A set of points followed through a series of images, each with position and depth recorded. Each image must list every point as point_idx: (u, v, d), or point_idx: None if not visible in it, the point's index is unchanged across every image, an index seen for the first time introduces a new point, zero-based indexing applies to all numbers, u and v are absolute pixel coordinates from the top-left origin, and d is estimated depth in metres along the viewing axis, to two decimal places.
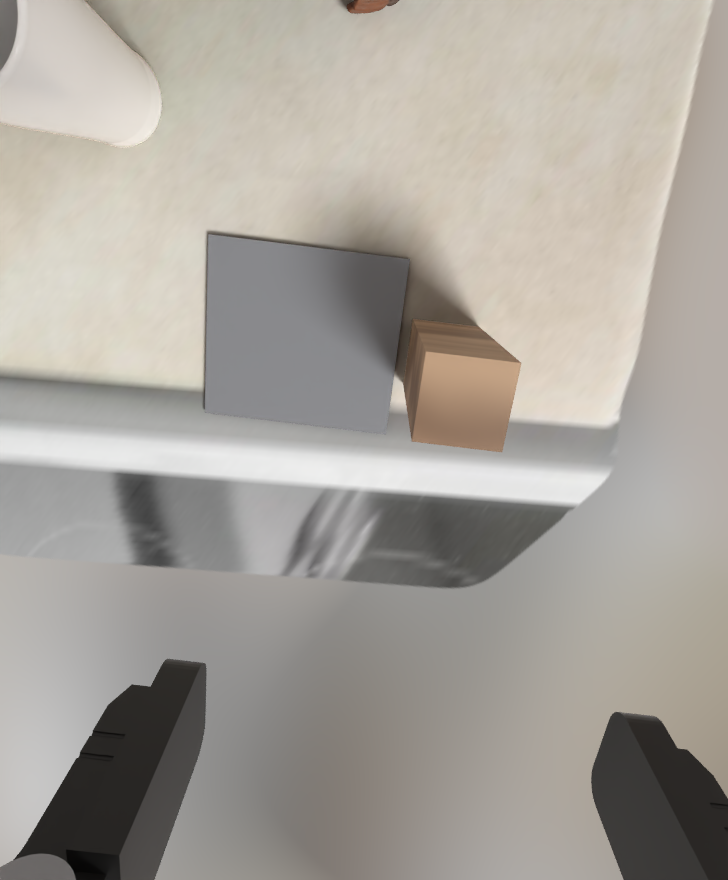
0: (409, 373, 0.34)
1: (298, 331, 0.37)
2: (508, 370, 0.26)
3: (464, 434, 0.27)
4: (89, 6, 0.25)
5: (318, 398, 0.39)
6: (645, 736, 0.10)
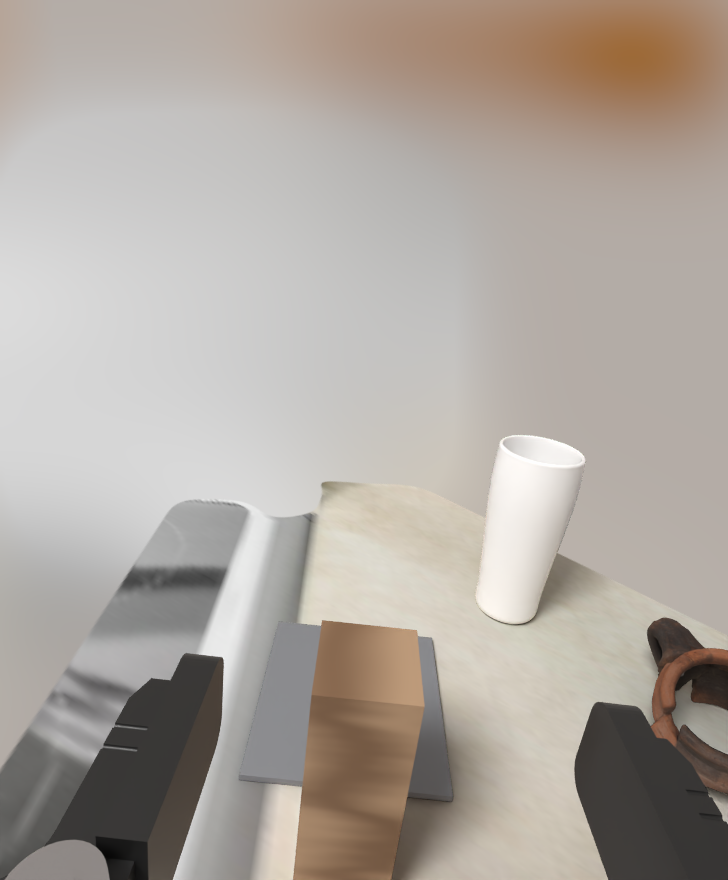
0: None
1: None
2: (413, 695, 0.22)
3: (332, 660, 0.24)
4: (558, 540, 0.43)
5: (289, 706, 0.35)
6: (625, 725, 0.10)
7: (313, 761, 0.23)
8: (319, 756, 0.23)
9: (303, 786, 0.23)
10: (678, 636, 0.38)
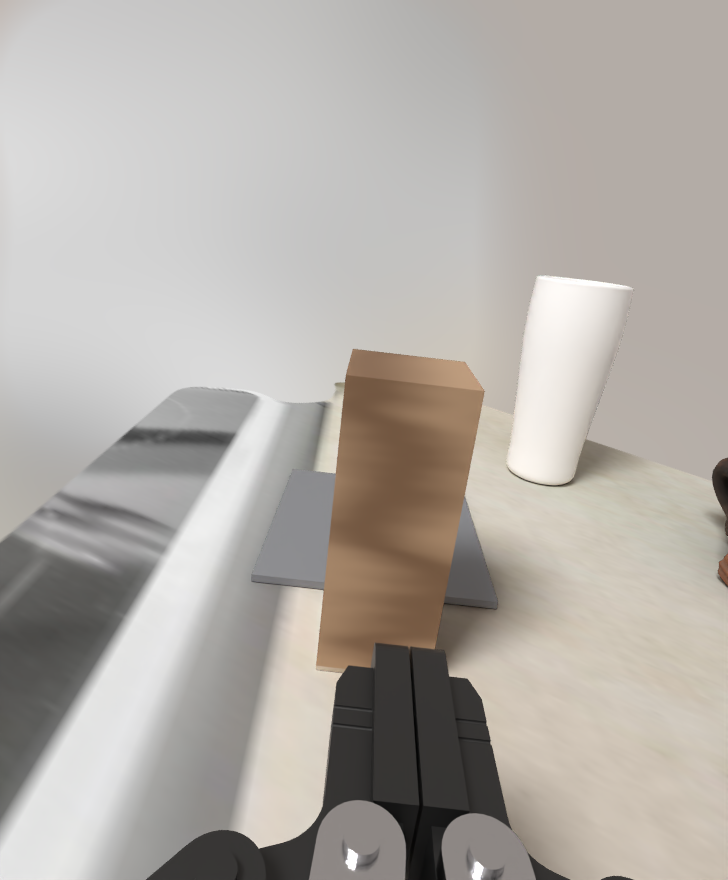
0: None
1: None
2: (469, 385, 0.18)
3: (368, 364, 0.20)
4: (602, 382, 0.39)
5: (306, 527, 0.31)
6: (423, 664, 0.11)
7: (346, 476, 0.19)
8: (354, 469, 0.19)
9: (333, 514, 0.19)
10: None
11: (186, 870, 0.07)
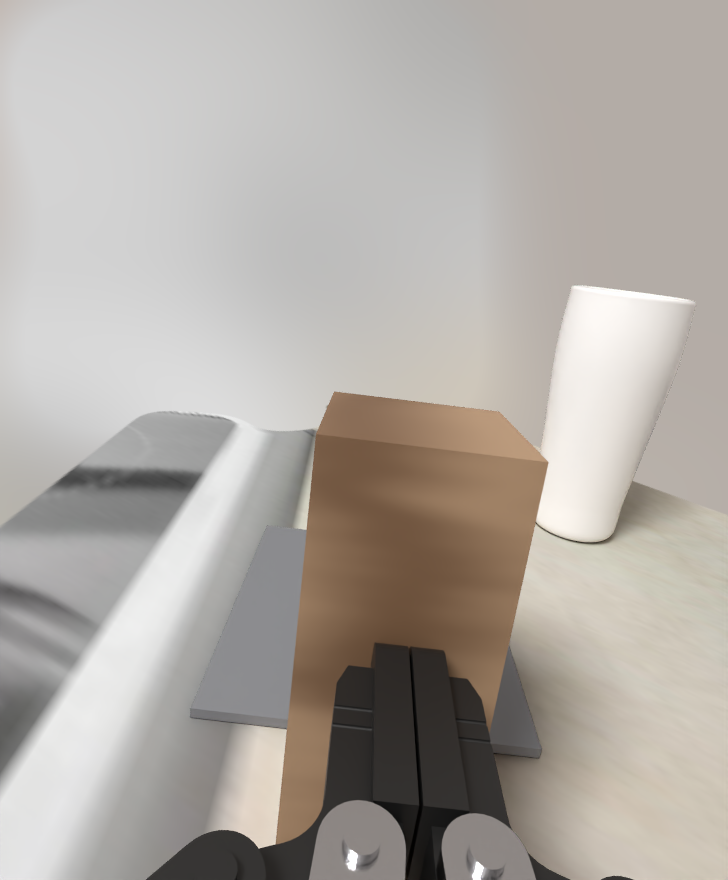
0: None
1: None
2: (520, 451, 0.11)
3: (355, 415, 0.12)
4: (654, 419, 0.31)
5: (277, 620, 0.23)
6: (423, 664, 0.11)
7: (317, 599, 0.12)
8: (330, 587, 0.11)
9: (296, 658, 0.12)
10: None
11: (186, 870, 0.07)
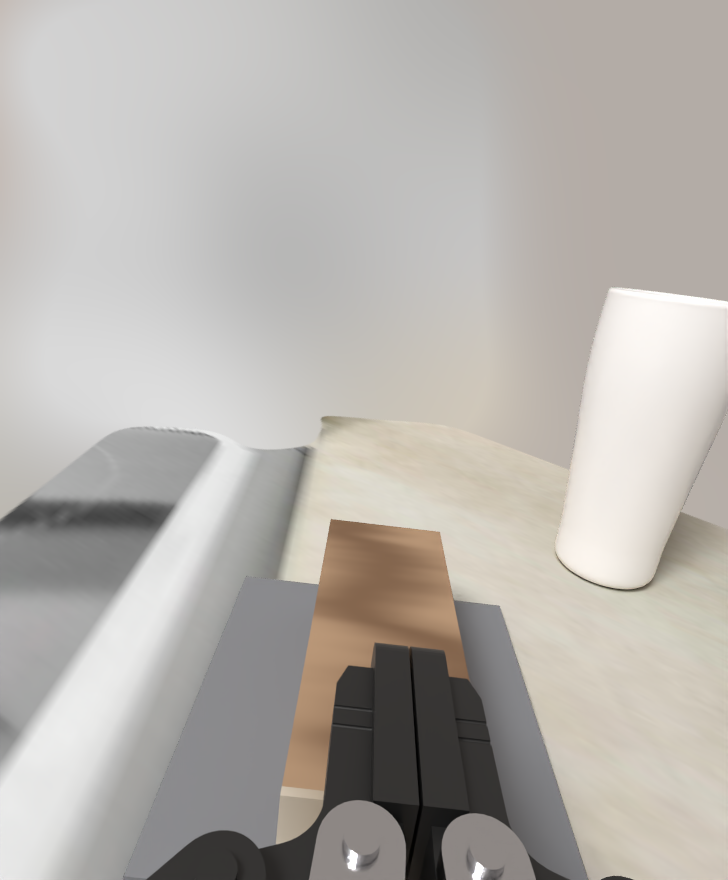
0: None
1: None
2: None
3: None
4: (708, 447, 0.26)
5: (250, 719, 0.18)
6: (423, 664, 0.11)
7: (332, 568, 0.19)
8: (340, 564, 0.20)
9: (318, 593, 0.18)
10: None
11: (186, 870, 0.07)
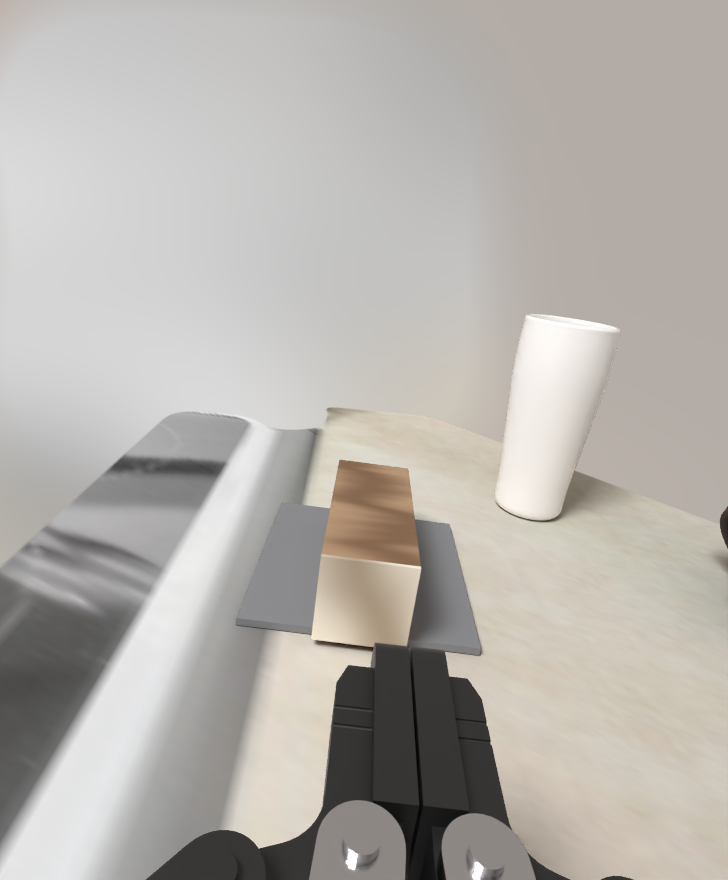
0: None
1: None
2: None
3: None
4: (588, 421, 0.40)
5: (293, 567, 0.31)
6: (423, 664, 0.11)
7: (341, 482, 0.32)
8: (346, 480, 0.33)
9: (334, 491, 0.31)
10: None
11: (186, 870, 0.07)
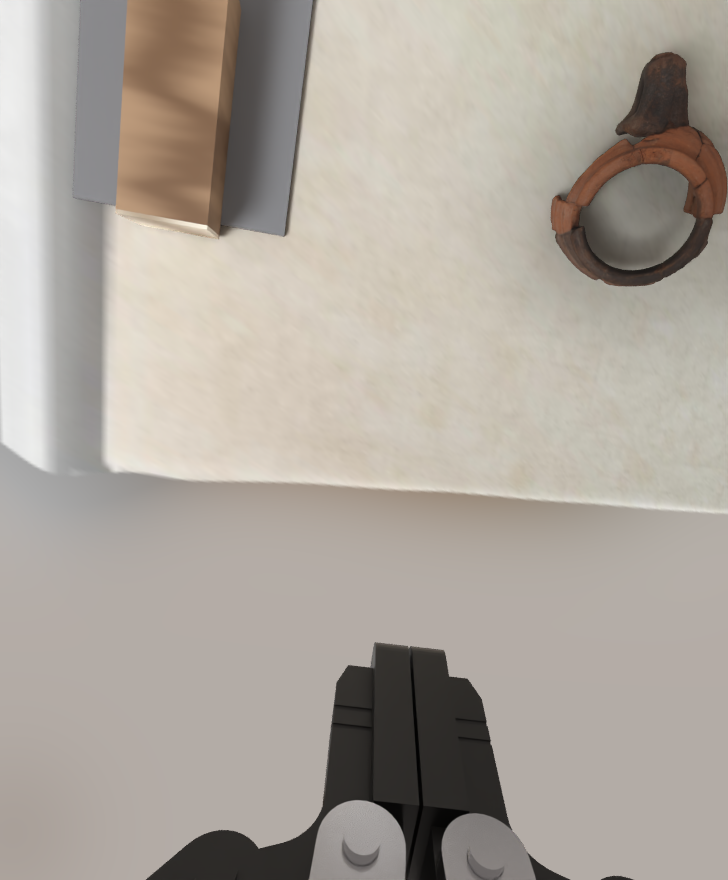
0: None
1: None
2: None
3: None
4: None
5: (115, 108, 0.30)
6: (423, 664, 0.11)
7: (134, 25, 0.26)
8: (140, 19, 0.26)
9: (125, 59, 0.26)
10: (665, 103, 0.29)
11: (186, 870, 0.07)
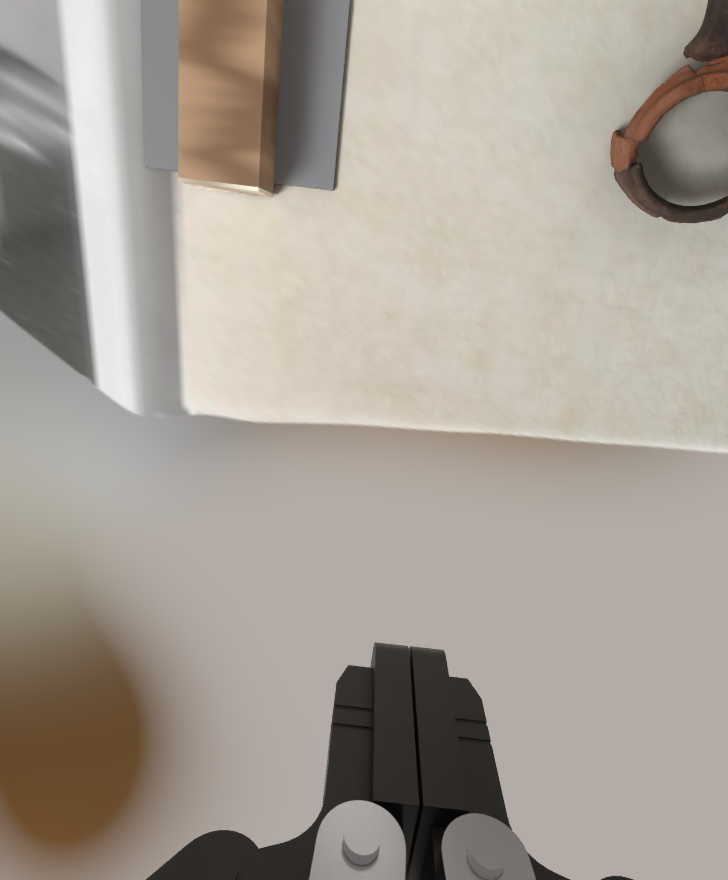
0: None
1: None
2: None
3: None
4: None
5: (176, 78, 0.33)
6: (423, 664, 0.11)
7: (185, 0, 0.28)
8: None
9: (179, 34, 0.28)
10: None
11: (186, 870, 0.07)
